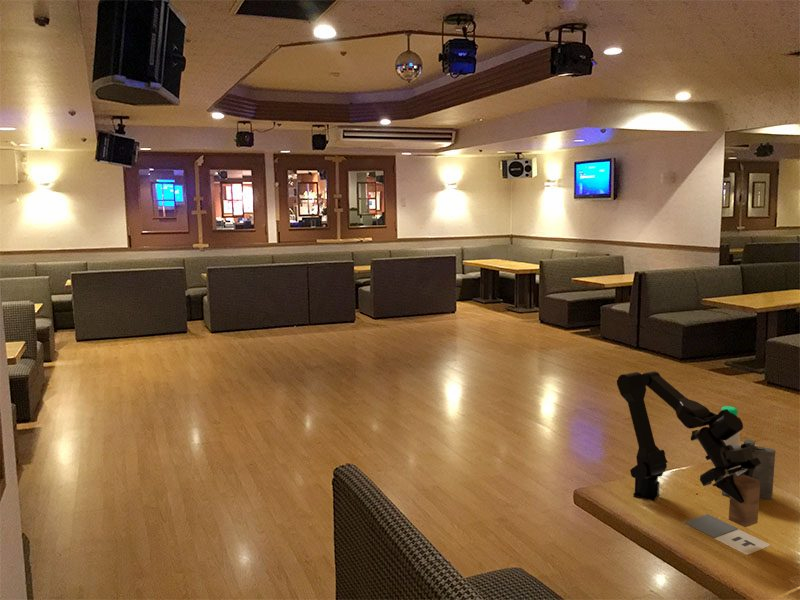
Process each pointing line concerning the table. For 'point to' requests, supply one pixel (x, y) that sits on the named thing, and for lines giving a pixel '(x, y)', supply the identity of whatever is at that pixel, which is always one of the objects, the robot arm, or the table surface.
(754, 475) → the flask
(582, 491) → the table surface
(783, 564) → the table surface
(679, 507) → the table surface
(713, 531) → the mat
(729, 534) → the tile
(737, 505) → the walnut pillar
